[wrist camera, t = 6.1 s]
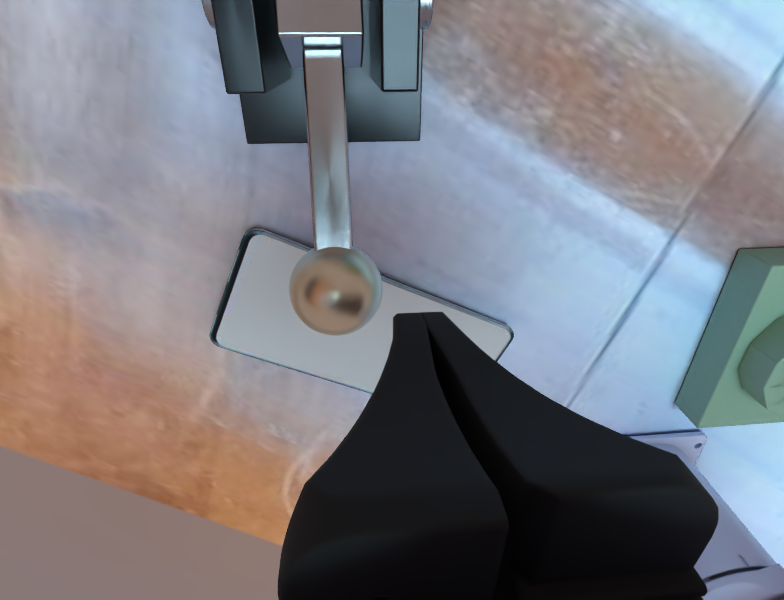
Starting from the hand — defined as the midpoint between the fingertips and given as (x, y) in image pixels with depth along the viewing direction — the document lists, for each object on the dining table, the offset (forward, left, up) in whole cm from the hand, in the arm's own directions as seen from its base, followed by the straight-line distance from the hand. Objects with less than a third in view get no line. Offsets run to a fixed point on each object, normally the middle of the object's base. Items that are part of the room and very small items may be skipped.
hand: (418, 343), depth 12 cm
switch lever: (+4, +2, -5) cm, 7 cm away
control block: (-8, -23, -10) cm, 26 cm away
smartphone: (-6, +1, -10) cm, 12 cm away
